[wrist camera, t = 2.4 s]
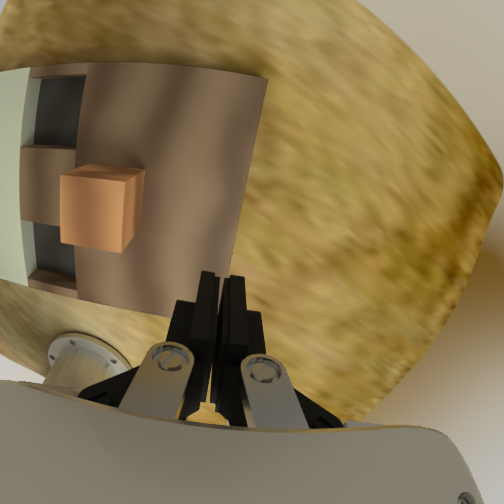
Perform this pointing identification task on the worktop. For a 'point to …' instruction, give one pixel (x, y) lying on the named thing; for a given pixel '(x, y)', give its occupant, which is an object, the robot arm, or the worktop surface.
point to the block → (101, 206)
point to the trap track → (156, 175)
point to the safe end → (15, 172)
